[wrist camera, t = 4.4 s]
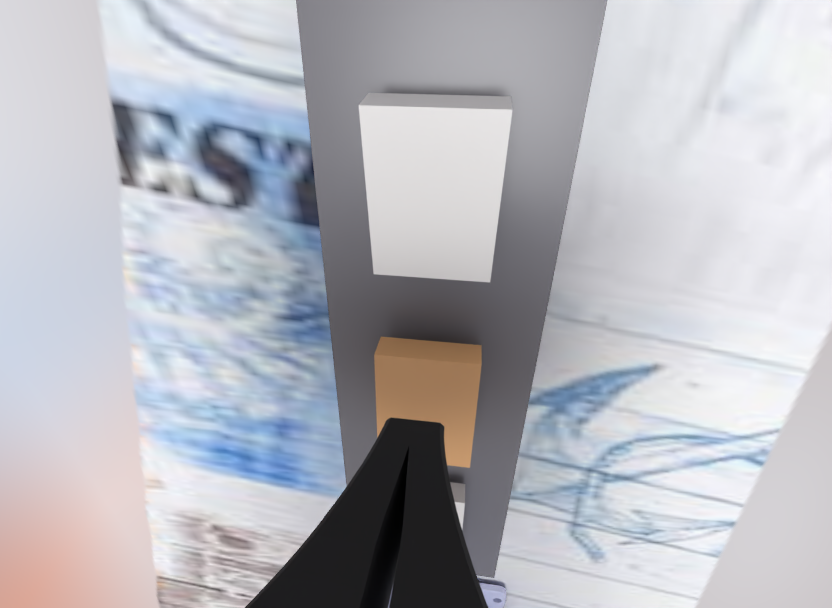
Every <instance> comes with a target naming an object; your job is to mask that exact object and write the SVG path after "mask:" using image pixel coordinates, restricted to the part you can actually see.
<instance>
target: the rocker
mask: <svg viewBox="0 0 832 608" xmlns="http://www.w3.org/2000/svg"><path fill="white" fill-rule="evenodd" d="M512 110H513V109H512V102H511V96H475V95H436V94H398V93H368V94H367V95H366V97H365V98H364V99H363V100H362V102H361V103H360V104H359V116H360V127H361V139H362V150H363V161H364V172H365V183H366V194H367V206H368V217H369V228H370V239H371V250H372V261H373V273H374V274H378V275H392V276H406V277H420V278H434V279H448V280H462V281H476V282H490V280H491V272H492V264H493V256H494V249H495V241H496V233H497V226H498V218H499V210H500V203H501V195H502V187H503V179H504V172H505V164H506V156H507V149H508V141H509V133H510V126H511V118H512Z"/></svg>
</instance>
